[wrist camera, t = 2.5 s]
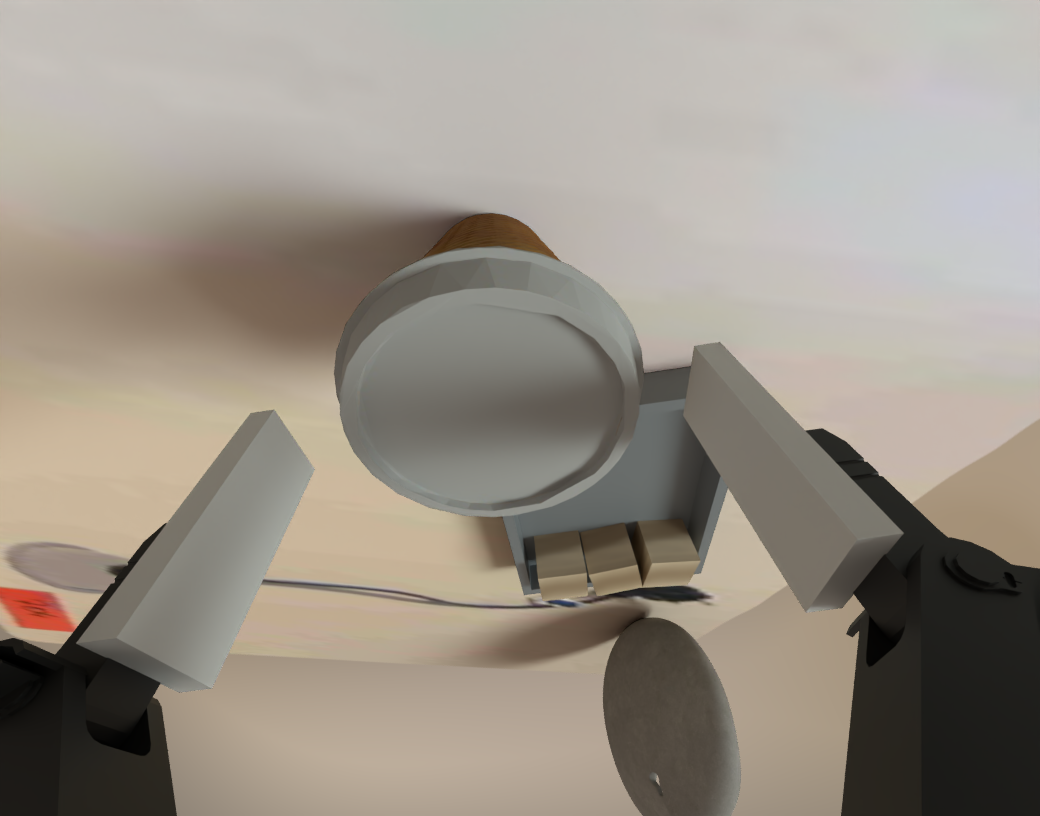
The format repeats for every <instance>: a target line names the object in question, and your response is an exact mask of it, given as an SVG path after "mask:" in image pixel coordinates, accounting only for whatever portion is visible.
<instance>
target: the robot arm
mask: <svg viewBox="0 0 1040 816" xmlns="http://www.w3.org/2000/svg"><path fill="white" fill-rule="evenodd" d="M683 416H684V418H685V419H686V421H687V422H688V424H689V426H690V427H691V429H692V430H693V432H694V434H695V435H696V437H697V439H698V440H699V442H700V443H701V445H702V447H703V448H704V450H705V451H706V453H707V455H708V456H709V458H710V459H711V461H712V463H713V464H714V466H715V467H716V469H717V471H718V472H719V474H720V476H721V477H722V479H723V480H724V482H725V484H726V485H727V487H728V488H729V490H730V492H731V493H732V495H733V496H734V498H735V500H736V501H737V503H738V504H739V506H740V508H741V509H742V511H743V513H744V514H745V516H746V517H747V519H748V521H749V522H750V524H751V525H752V527H753V529H754V530H755V532H756V533H757V535H758V537H759V538H760V540H761V541H762V543H763V545H764V546H765V548H766V549H767V551H768V553H769V554H770V556H771V558H772V559H773V561H774V562H775V564H776V566H777V567H778V569H779V570H780V572H781V574H782V575H783V577H784V578H785V580H786V582H787V583H788V585H789V586H790V588H791V590H792V591H793V593H794V595H795V596H796V597H797V599H798V601H799V602H800V604H801V606H802V607H803V609H804V610H805V612H806V613H807V612H815V611H822V610H830V609H838V608H843V607H844V605H845V604H846V603H847V602H848V600H849V599H850V598H851V597H852V596H853V594H854V595H855V596H856V598H857V599H858V600H859V602H860V603H861V604H862V606H863V607H864V608H865V610H864V611H863V612H862V613H861V614H860V615H859V616H858V617H857V618H856V620H855V621H854V622H853V623H852V624H851V625H850V627H849V629H848V631H847V635H849V636H851V637H853V636H854V635H855V634H856V633H857V632H858V631H859V640H858V650H857V660H856V670H855V680H854V690H853V700H852V710H851V721H850V731H849V741H848V751H847V761H846V771H845V782H844V793H843V803H842V812H841V816H1040V569H1038V568H1031V567H1025V566H1017V565H1011V564H1010V563H1008V562H1007V561H1005V560H1004V559H1002V558H1001V557H999V556H997V555H996V554H995V553H993V552H992V551H990V550H987V549H985V548H983V547H981V546H978V545H976V544H974V543H972V542H968V541H964V540H959V539H955V538H948V537H947V536H945V535H944V534H943V533H942V532H941V531H940V530H938V529H937V528H936V527H935V526H934V525H933V524H932V523H931V522H930V521H929V520H928V519H927V518H926V517H925V516H924V515H923V514H922V513H921V512H919V511H918V510H917V509H916V508H915V507H914V506H913V505H912V504H911V503H910V502H909V501H908V500H907V499H906V498H905V497H904V496H903V495H902V494H901V493H899V492H898V491H897V490H896V489H895V488H894V487H893V486H892V485H891V484H890V483H889V482H888V481H887V480H886V479H885V478H884V477H883V476H879V475H878V472H877V471H876V470H875V469H874V468H873V467H872V466H871V465H870V464H869V463H868V462H864V460H863V459H864V458H863V457H862V456H861V455H860V454H858V453H857V452H856V451H855V450H854V449H853V448H852V447H851V446H850V445H849V444H848V443H847V442H846V441H844V440H842V439H840V438H839V437H837V436H835V435H833V434H831V433H830V432H828V431H826V430H824V429H822V428H821V429H814V430H807V431H805V430H804V429H803V428H802V427H801V426H800V425H799V424H798V423H797V422H796V421H795V420H794V419H793V418H792V417H791V415H790V414H789V413H788V412H787V411H786V410H785V409H784V408H783V407H782V406H781V405H780V404H779V403H778V402H777V401H776V400H775V399H774V398H773V397H772V396H771V395H770V394H769V393H768V392H767V391H766V390H765V388H764V387H763V386H762V385H761V384H760V383H759V382H758V381H757V380H756V379H755V378H754V377H753V376H752V375H751V374H750V373H749V372H748V371H747V370H746V369H745V368H744V367H743V366H742V365H741V364H740V363H739V361H738V360H737V359H736V358H735V357H734V356H733V355H732V354H731V353H730V352H729V351H728V350H727V349H726V348H725V347H724V346H723V345H722V344H721V343H720V342H718V343H711V344H704V345H698V346H694V352H693V358H692V364H691V370H690V376H689V382H688V389H687V395H686V401H685V407H684V413H683ZM314 470H315V469H314V467H313V466H312V464H311V463H310V461H309V460H308V458H307V457H306V456H305V454H304V453H303V451H302V450H301V448H300V447H299V445H298V444H297V442H296V441H295V439H294V438H293V436H292V435H291V434H290V432H289V431H288V429H287V428H286V426H285V425H284V423H283V422H282V420H281V419H280V417H279V416H278V414H277V413H276V411H275V410H269V411H262V412H255V413H250V415H249V416H248V417H247V419H246V420H245V421H244V423H243V424H242V425H241V427H240V428H239V429H238V431H237V432H236V433H235V435H234V436H233V437H232V438H231V440H230V441H229V442H228V444H227V445H226V446H225V448H224V449H223V450H222V452H221V453H220V454H219V456H218V457H217V458H216V460H215V461H214V462H213V463H212V465H211V466H210V467H209V469H208V470H207V471H206V473H205V474H204V475H203V477H202V478H201V479H200V481H199V482H198V483H197V485H196V486H195V487H194V489H193V490H192V491H191V492H190V494H189V495H188V496H187V498H186V499H185V500H184V502H183V503H182V504H181V506H180V507H179V508H178V510H177V511H176V512H175V514H174V515H173V516H172V518H171V519H170V520H169V521H168V523H165V524H164V525H163V526H161V527H160V528H159V529H158V530H157V531H156V532H155V533H153V534H152V535H151V536H150V537H149V538H148V539H147V540H145V541H144V542H143V544H142V545H141V546H140V547H139V549H138V550H137V551H136V553H135V554H134V555H133V556H132V558H131V559H130V560H129V561H128V566H125V567H124V568H123V569H122V570H121V572H120V573H119V574H118V576H117V577H116V578H115V583H113V584H111V585H110V586H109V587H108V588H107V590H106V591H105V592H104V594H103V595H102V596H101V597H100V599H99V600H98V601H97V603H96V604H95V605H94V606H93V608H92V609H91V610H90V611H89V613H88V614H87V615H86V617H85V618H84V619H83V620H82V622H81V623H80V624H79V626H78V627H77V628H76V629H75V631H74V632H73V633H72V635H71V636H70V637H69V638H68V640H67V641H66V642H65V644H64V645H63V646H62V647H61V649H60V650H59V651H58V652H57V653H56V654H55V655H54V654H52V653H50V652H47V651H45V650H43V649H41V648H38V647H36V646H34V645H32V644H29V643H27V642H25V641H22V640H19V639H15V638H11V639H7V640H3V641H0V816H177V815H176V814H177V813H176V807H175V800H174V793H173V786H172V778H171V771H170V764H169V758H168V757H169V756H168V749H167V743H166V735H165V728H164V721H163V714H162V707H161V705H160V703H159V701H158V700H157V699H155V698H153V695H154V694H155V692H156V690H157V688H158V687H159V685H160V684H162V685H164V686H166V687H168V688H170V689H173V690H175V691H177V692H179V693H180V692H187V691H195V690H203V689H211V688H212V687H213V685H214V683H215V681H216V678H217V676H218V674H219V672H220V670H221V668H222V666H223V664H224V661H225V659H226V657H227V655H228V653H229V651H230V649H231V647H232V644H233V642H234V640H235V638H236V636H237V634H238V632H239V630H240V627H241V625H242V623H243V621H244V619H245V617H246V615H247V612H248V610H249V608H250V606H251V604H252V602H253V600H254V598H255V595H256V593H257V591H258V589H259V587H260V585H261V583H262V581H263V578H264V576H265V574H266V572H267V570H268V568H269V566H270V563H271V561H272V559H273V557H274V555H275V553H276V551H277V549H278V546H279V544H280V542H281V540H282V538H283V536H284V534H285V532H286V529H287V527H288V525H289V523H290V521H291V519H292V517H293V514H294V512H295V510H296V508H297V506H298V504H299V502H300V500H301V497H302V495H303V493H304V491H305V489H306V487H307V485H308V483H309V480H310V478H311V476H312V474H313V472H314Z"/></svg>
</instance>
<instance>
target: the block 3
mask: <svg viewBox="0 0 1040 816" xmlns="http://www.w3.org/2000/svg"><path fill="white" fill-rule="evenodd" d="M631 546H632V549H633V552H634V556H635V559H636V562H637V565H638V570H639V574H640V578H641V582H642V586H643V587H642V588H644V587H661V586H677V585H688V583H689V581H690V579H691V578H692V576H693V574H694V572H695V570H696V568H697V567H698V565H699V563H700V561H701V560H700V558H699V556H698V553H697V551H696V549H695V547H694V544H693V542H692V540H691V538H690V536H689V533H688V531H687V529H686V527H685V524H684V522H683V520H682V519H668V520H648V521H638V522H637V525H636V528H635V531H634V534H633V537H632V541H631Z"/></svg>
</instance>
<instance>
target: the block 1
mask: <svg viewBox="0 0 1040 816" xmlns="http://www.w3.org/2000/svg"><path fill="white" fill-rule="evenodd" d="M534 542H535V553H536V563H537V573H538V581H539V586H540V590H541V595H542V600H543V601H549V600H557V599H565V598H573V597H581V596H588V588H587V572H586V567H585V562H584V557H583V552H582V547H581V542H580V537H579V532H578V530H577V531H569V532H561V533H553V534H545V535H538V536H534Z"/></svg>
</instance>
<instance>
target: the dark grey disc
mask: <svg viewBox="0 0 1040 816" xmlns="http://www.w3.org/2000/svg"><path fill="white" fill-rule="evenodd" d="M603 709H604V718H605V725H606V730H607V735H608V740H609V744H610V748H611V751H612V755H613V758H614V761H615V764H616V767H617V769H618V772H619V775H620V777H621V779H622V782H623V784H624V786H625V788H626V790H627V792H628V794H629V796H630V797H631V799H632V801H633V802H634V804H635V806H636V807H637V808H638V810H639V811H640V813H641V814H642V815H643V816H731V814H732V813H733V810H734V808H735V805H736V803H737V799H738V795H739V791H740V782H741V768H740V756H739V748H738V742H737V736H736V730H735V726H734V721H733V717H732V713H731V709H730V707H729V702H728V699H727V697H726V694H725V691H724V688H723V686H722V684H721V681H720V679H719V677H718V675H717V673H716V671H715V669H714V667H713V665H712V663H711V662H710V660H709V659H708V657H707V655H706V654H705V652H704V651H703V650H702V648H701V647H700V646H699V645H698V643H697V642H696V641H695V640H694V638H693V637H692V636H691V635H690V634H689V633H688V632H686V631H685V630H684V629H683V628H681V627H680V626H678V625H677V624H675V623H673V622H671V621H668V620H665V619H661V618H644V619H641V620H638V621H636V622H634V623H633V624H631V625H630V626H628V627H627V628H626V629H625V630H624V631H623V632H622V634H621V635H620V636H619V638H618V639H617V641H616V642H615V644H614V646H613V648H612V651H611V653H610V656H609V659H608V662H607V666H606V671H605V677H604V686H603ZM657 775H658V777H659V783H660V786H659V785H658V783H657V782H656V776H657ZM662 791H663V792H662Z"/></svg>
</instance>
